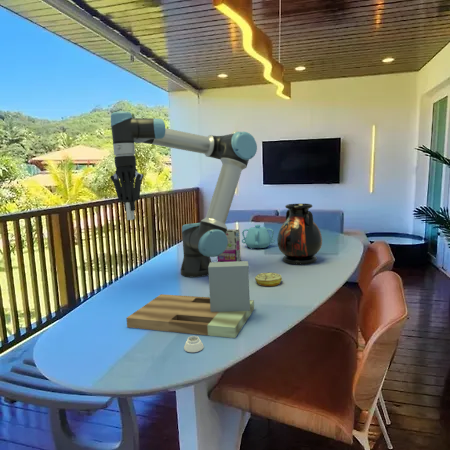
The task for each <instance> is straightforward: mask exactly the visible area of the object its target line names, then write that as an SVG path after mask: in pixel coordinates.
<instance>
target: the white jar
mask: <svg viewBox="0 0 450 450" xmlns="http://www.w3.org/2000/svg"><path fill="white" fill-rule="evenodd" d="M204 347H205V346H204V343H203V341H202V340H201V339H200V337H199V336H197V335H191V336H189V337H187V340H186V341H185V343H184V346H183V350H184V351H185V352H186V353H187V352H188V353H198V352H201V351H202V350H204Z"/></svg>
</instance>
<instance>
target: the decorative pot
mask: <svg viewBox="0 0 450 450" xmlns="http://www.w3.org/2000/svg"><path fill="white" fill-rule="evenodd" d="M269 231H270V232H271V235H270V232H269ZM245 232H247V233H246V235H245ZM274 233H275V232H274V230H273V229H272V228H267V227H264V226H261V225H260V224H254V227H253V226H252V227H249V228H245V229H243V230H242V232H241V234H242V240H241V243H243V244H245V245H246V246H247V247H248V248H255V249H256V248H257V249H258V248H259V249H261V248H265V249H266V248H268V247H269V246H270V245H271V244H274V243H275V238H274Z"/></svg>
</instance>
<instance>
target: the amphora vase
mask: <svg viewBox="0 0 450 450" xmlns="http://www.w3.org/2000/svg"><path fill="white" fill-rule="evenodd" d="M284 207H285V209H287V210H286V213H285V221H284V222H283V223H282V224H281V226H280V228H279V230H278V233H277V247H278V249H279V251H280V252H281V253H282V254H283V255H284V256H283V257H282V260H283V262H285V263H287V264H289V265H301V266H302V265H310V264H313V263H315V262H317V260H318V258H317V256H316V255H317V254H318V253H319V251H320V250H321V249H322V245H323V238H322V233H321V230H320V228H319V226H318V225H317V223H315V220H314V216H313V213H312V212H311V211H310V210H309V209H312V208H313V205H312V204H311V203H289V204H286V205H285V206H284Z"/></svg>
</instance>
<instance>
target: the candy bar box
mask: <svg viewBox="0 0 450 450" xmlns="http://www.w3.org/2000/svg"><path fill="white" fill-rule="evenodd" d="M226 236H227V239H228V244H227V247H226V249H225V251H224V252H223V253H222V254H221V255H219V256H216V257H217V262H235V261H242V260H241V245H240V244H241V240H240V239H241V238H240V229H232V228H231V229H230V228H229V229H228V228H227V232H226Z"/></svg>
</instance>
